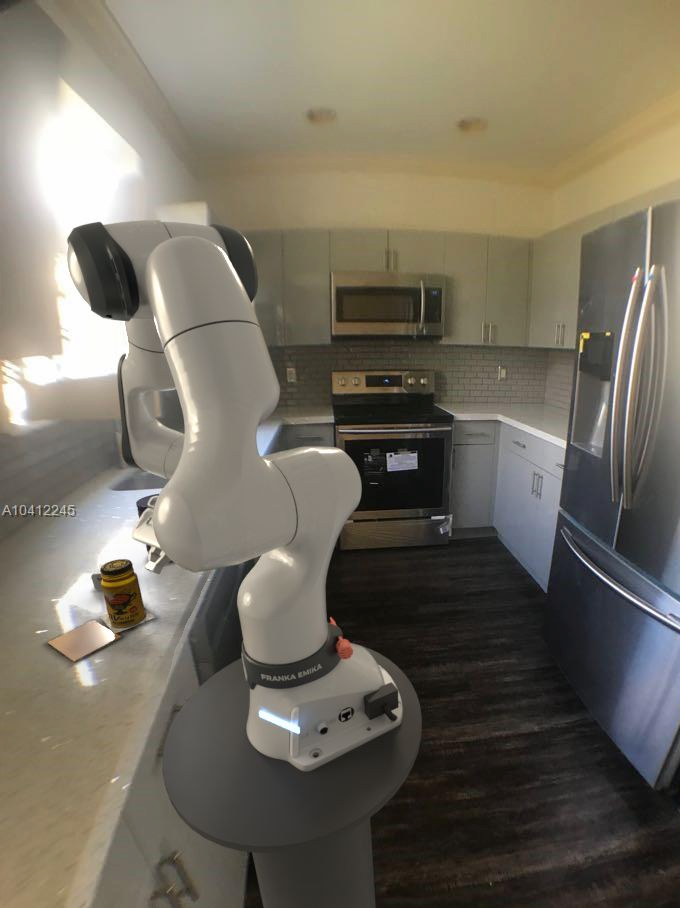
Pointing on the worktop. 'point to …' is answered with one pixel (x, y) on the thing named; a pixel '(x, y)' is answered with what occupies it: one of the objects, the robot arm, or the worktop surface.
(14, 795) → the worktop surface
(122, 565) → the condiment
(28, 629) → the worktop surface
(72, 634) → the copper flat rectangular plate
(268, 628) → the robot arm
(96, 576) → the usb wall charger
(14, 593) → the worktop surface
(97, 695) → the worktop surface
